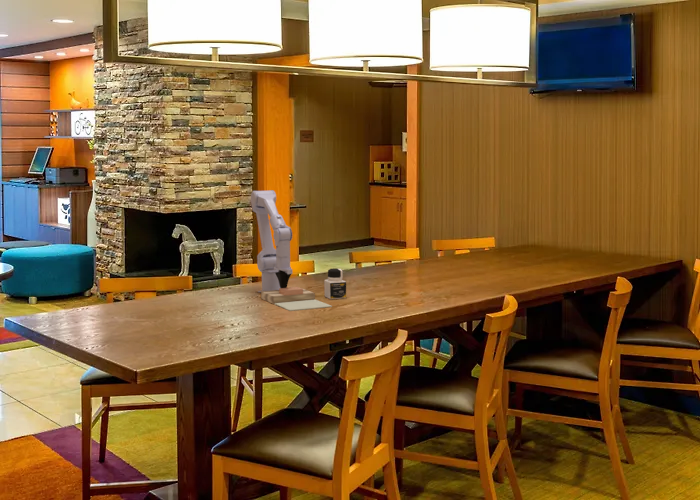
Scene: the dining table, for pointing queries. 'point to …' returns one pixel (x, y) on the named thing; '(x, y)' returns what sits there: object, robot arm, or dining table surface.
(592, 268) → the dining table surface
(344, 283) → the medicine bottle
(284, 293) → the block
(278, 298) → the block
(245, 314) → the dining table surface
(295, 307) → the mat
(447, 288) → the dining table surface
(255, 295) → the dining table surface
